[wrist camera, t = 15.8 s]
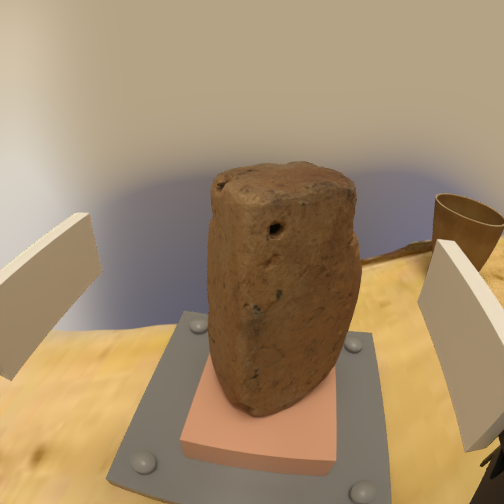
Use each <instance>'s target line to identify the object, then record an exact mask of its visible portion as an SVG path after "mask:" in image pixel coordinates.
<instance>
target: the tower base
mask: <svg viewBox="0 0 504 504" xmlns="http://www.w3.org/2000/svg"><path fill="white" fill-rule="evenodd" d="M106 480H107V481H108V482H109V483H110V484H112V485H115V486H118V487H120V488H123V489H126V490H128V491H131V492H134V493H137V494H140V495H143V496H146V497H149V498H152V499H155V500H158V501H162V502H165V503H168V504H391V482H390V467H389V454H388V443H387V433H386V424H385V415H384V407H383V399H382V392H381V385H380V378H379V372H378V366H377V360H376V354H375V348H374V342H373V337H372V333H366V332H353V331H348V332H347V335H346V338H345V341H344V345H343V348H342V350H341V353H340V355H339V358H338V360H337V362H336V364H335V366H334V367H333V368H332V370H331V371H330V373H329V374H328V376H327V377H326V378H325V379H324V380H322V382H321V383H320V384H319V385H318V386H317V387H316V388H314V389H313V390H312V391H311V392H308V393H306V395H305V396H304V397H303V398H302V399H301V400H299V401H298V402H296V403H295V404H293V405H292V406H290V407H287V408H285V409H283V410H280V411H278V412H275V413H272V414H269V415H264V416H255V415H252V414H250V413H248V412H247V411H245V410H243V409H242V408H241V407H238V406H236V405H233V404H232V403H231V402H230V401H229V399H228V398H227V397H226V395H225V393H224V391H223V389H222V387H221V385H220V383H219V381H218V379H217V376H216V373H215V370H214V367H213V364H212V360H211V355H210V349H209V338H208V314H203V313H197V312H190V311H184V313H183V315H182V317H181V319H180V321H179V323H178V325H177V327H176V329H175V331H174V333H173V335H172V337H171V339H170V341H169V343H168V345H167V347H166V349H165V351H164V353H163V355H162V357H161V359H160V361H159V363H158V366H157V368H156V370H155V372H154V374H153V376H152V378H151V380H150V382H149V384H148V387H147V389H146V391H145V393H144V395H143V397H142V399H141V401H140V404H139V406H138V408H137V410H136V412H135V414H134V416H133V419H132V421H131V423H130V425H129V427H128V430H127V432H126V434H125V436H124V438H123V441H122V443H121V445H120V447H119V450H118V452H117V454H116V456H115V459H114V461H113V463H112V465H111V468H110V470H109V472H108V475H107V477H106Z"/></svg>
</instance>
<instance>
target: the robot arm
mask: <svg viewBox="0 0 504 504" xmlns="http://www.w3.org/2000/svg"><path fill="white" fill-rule="evenodd" d="M101 273H102V267H101V263H100V260H99V255H98V251H97V246H96V242H95V238H94V233H93V228H92V223H91V218H90V213H75V214H73V215H72V216H70V217H69V218H67V219H66V220H65V221H63V222H62V223H60V224H59V225H58V226H56V227H55V228H54V229H52V230H51V231H49V232H48V233H47V234H45V235H44V236H43V237H41V238H40V239H39V240H37V241H36V242H35V243H34V244H32V245H31V246H30V247H28V248H27V249H26V250H24V251H23V252H22V253H21V254H19V255H18V256H17V257H16V258H14V259H13V260H12V261H11V262H10V263H8V264H7V265H6V266H5V267H4V268H2V269H1V270H0V375H1V376H3V377H5V378H7V379H8V380H10V381H12V379H13V378H14V377H15V375H16V374H17V373H18V371H19V370H20V369H21V367H22V366H23V365H24V363H25V362H26V361H27V359H28V358H29V357H30V356H31V354H32V353H33V352H34V351H35V349H36V348H37V347H38V346H39V344H40V343H41V342H42V341H43V339H44V338H45V337H46V336H47V334H48V333H49V332H50V331H51V330H52V328H53V327H54V326H55V325H56V324H57V322H58V321H59V320H60V319H61V317H63V315H64V314H65V313H66V312H67V311H68V310H69V308H70V307H71V306H72V305H73V304H74V303H75V301H76V300H77V299H78V298H79V297H80V296H81V295H82V294H83V293H84V291H85V290H86V289H87V288H88V287H89V286H90V285H91V284H92V282H93V281H94V280H95V279H96V278H97V277H98V276H99V275H100V274H101ZM418 305H419V307H420V310H421V312H422V315H423V317H424V320H425V323H426V325H427V328H428V330H429V333H430V336H431V339H432V341H433V344H434V347H435V350H436V353H437V355H438V358H439V361H440V364H441V367H442V370H443V374H444V377H445V380H446V383H447V386H448V390H449V393H450V396H451V400H452V403H453V407H454V411H455V414H456V418H457V422H458V426H459V430H460V434H461V438H462V442H463V447H464V451H465V452H470V451H475V450H480V449H484V448H487V447H488V446H489V445H490V444H491V443H492V442H493V441H494V440H495V439H496V438H497V437H499V440H500V444H501V445H500V446H499V447H498V448H497V449H495V450H494V451H493V452H492V453H491V454H490V455H489V456H488V457H487V458H485V459H484V460H483V462H482V463H481V464H480V466H481V467H483V466H484V465H485V464H487V463H488V462H489V461H490V460H491V461H490V463H489V465H488V467H487V468H486V472H485V474H484V476H483V478H482V480H481V482H480V484H479V486H478V488H477V490H476V492H475V494H474V496H473V498H472V500H471V502H470V504H504V309H503V308H502V306H501V305H500V303H499V302H498V300H497V299H496V297H495V296H494V294H493V293H492V291H491V290H490V288H489V287H488V285H487V284H486V282H485V281H484V280H483V278H482V277H481V275H480V274H479V273H478V271H477V270H476V269H475V267H474V266H473V265H472V263H471V262H470V261H469V259H468V258H467V257H466V255H465V254H464V253H463V251H462V250H461V249H460V248H459V246H458V245H457V244H456V242H455V241H449V240H441V239H437V241H436V245H435V248H434V252H433V255H432V259H431V262H430V265H429V269H428V272H427V275H426V278H425V281H424V284H423V287H422V290H421V293H420V296H419V299H418Z"/></svg>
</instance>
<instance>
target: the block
mask: <svg viewBox="0 0 504 504" xmlns="http://www.w3.org/2000/svg"><path fill="white" fill-rule="evenodd" d="M356 196H357V195H356V188H355V184H354V182H353V181H351V180H350V179H349V178H347V177H345V176H344V175H343V174H342V173H340V172H338V171H335V170H333V169H328V168H324V167H318V166H316V165H314V164H312V163H308V162H290V163H287V164H273V163H272V164H271V163H263V164H257V165H253V166H246V167H239V168H234V169H230V170H227V171H225V172H222V173H220V174H218V175H217V176H216V178H215V179H214V180H213V184H212V187H211V204H212V212H213V218H212V219H211V221H210V224H209V235H208V259H207V261H208V264H207V269H208V270H207V291H208V302H209V313H208V338H209V349H210V355H211V360H212V364H213V367H214V370H215V373H216V376H217V379H218V381H219V383H220V385H221V387H222V389H223V391H224V393H225V395H226V397H227V398H228V399H229V401H230V402H231V403H232V404H233V405H236V406H238V407H241V408H242V409H243V410H245V411H247V412H248V413H250V414H252V415H255V416H264V415H269V414H272V413H275V412H278V411H280V410H283V409H285V408H287V407H290V406H292V405H293V404H295V403H296V402H298V401H299V400H301V399H302V398H303V397H304V396H305V395H306V393H308V392H311V391H312V390H313V389H314V388H316V387H317V386H318V385H319V384H320V383H321V382H322V380H324V379H325V378H326V377H327V376H328V374H329V373H330V371H331V370H332V368H333V367H334V366H335V364H336V362H337V360H338V358H339V355H340V353H341V350H342V348H343V345H344V341H345V338H346V335H347V332H348V329H349V326H350V323H351V320H352V317H353V313H354V309H355V306H356V303H357V299H358V294H359V289H360V283H361V275H362V266H361V265H360V253H359V244H358V240H357V236H356V235H355V233H354V231H353V219H354V215H355V206H356V201H357V198H356Z"/></svg>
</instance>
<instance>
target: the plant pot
mask: <svg viewBox="0 0 504 504" xmlns="http://www.w3.org/2000/svg"><path fill="white" fill-rule="evenodd" d="M503 230H504V217H503V216H502V215H501V214H500V213H499V212H497V211H496V210H494V209H492V208H490V207H489V206H487V205H485V204H483V203H481V202H478V201H475V200H473V199H470V198H467V197H464V196H460V195H455V194H446V193H445V194H444V193H442V194H438V195H436V198H435V209H434V220H433V237H432V255H433V252H434V248H435V245H436V241H437V239H441V240H449V241H455V242H456V244H457V245H458V246H459V248H460V249H461V250H462V251H463V253H464V254H465V255H466V257H467V258H468V259H469V261H470V262H471V263H472V265H473V266H474V267H475V269H476V270H477V271H478V272H479V271H480V270H481V268H482V267H483V265H484V264H485V262H486V261H487V259H488V258H489V256H490V255H491V253H492V251H493V249H494V248H495V246H496V244H497V242H498V240H499V238H500V236H501V234H502V232H503Z"/></svg>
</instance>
